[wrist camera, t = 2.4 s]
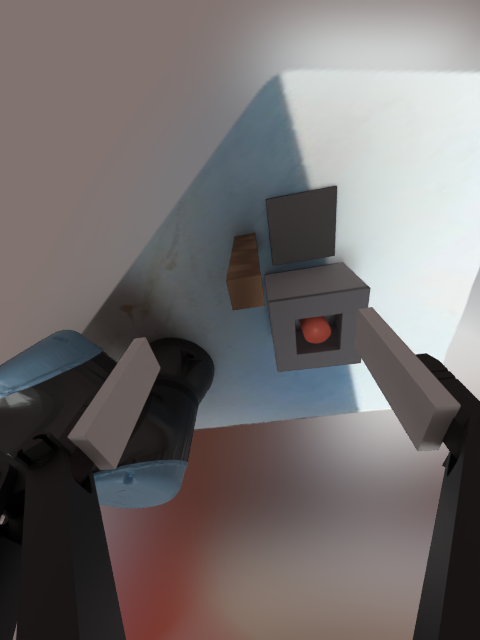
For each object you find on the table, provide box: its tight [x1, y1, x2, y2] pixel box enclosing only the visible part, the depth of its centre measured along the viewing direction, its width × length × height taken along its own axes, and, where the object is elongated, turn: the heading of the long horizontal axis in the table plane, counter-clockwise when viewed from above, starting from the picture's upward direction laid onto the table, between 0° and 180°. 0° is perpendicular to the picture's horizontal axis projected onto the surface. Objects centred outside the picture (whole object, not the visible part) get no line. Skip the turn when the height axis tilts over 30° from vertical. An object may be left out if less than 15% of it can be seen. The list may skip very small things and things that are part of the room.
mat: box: [266, 186, 337, 266], centre depth 33 cm, size 9×9×1 cm
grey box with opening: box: [264, 263, 370, 372], centre depth 35 cm, size 12×12×9 cm
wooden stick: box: [226, 233, 265, 310], centre depth 28 cm, size 3×3×16 cm
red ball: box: [298, 316, 331, 344], centre depth 34 cm, size 4×4×4 cm
